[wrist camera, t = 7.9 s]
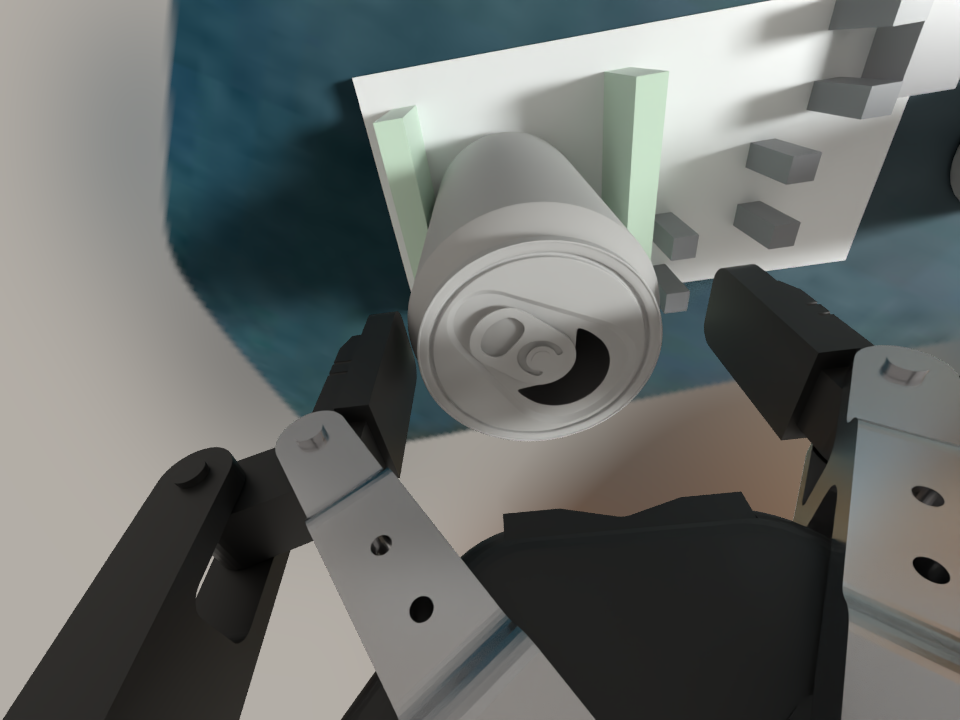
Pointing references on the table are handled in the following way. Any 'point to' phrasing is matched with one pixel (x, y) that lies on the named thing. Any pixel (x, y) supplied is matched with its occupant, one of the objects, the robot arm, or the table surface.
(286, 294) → the table surface
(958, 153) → the travel mug
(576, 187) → the beverage can
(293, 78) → the table surface
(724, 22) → the board
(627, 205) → the end holder
